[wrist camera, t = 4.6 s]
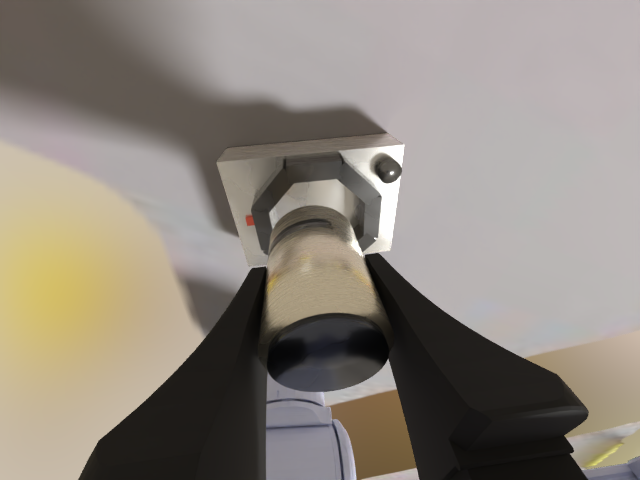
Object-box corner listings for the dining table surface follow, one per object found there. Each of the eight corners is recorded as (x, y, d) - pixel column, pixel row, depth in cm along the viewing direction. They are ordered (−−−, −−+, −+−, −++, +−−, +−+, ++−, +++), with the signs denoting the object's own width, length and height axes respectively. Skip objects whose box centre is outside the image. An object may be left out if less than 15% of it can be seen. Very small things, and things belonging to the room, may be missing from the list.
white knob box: (379, 229, 22) (397, 263, 18) (253, 243, 21) (245, 280, 18) (388, 133, 17) (414, 151, 13) (227, 147, 17) (209, 171, 13)
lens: (357, 265, 14) (397, 382, 9) (282, 280, 14) (278, 405, 9) (350, 196, 12) (400, 303, 6) (258, 215, 12) (233, 336, 6)
